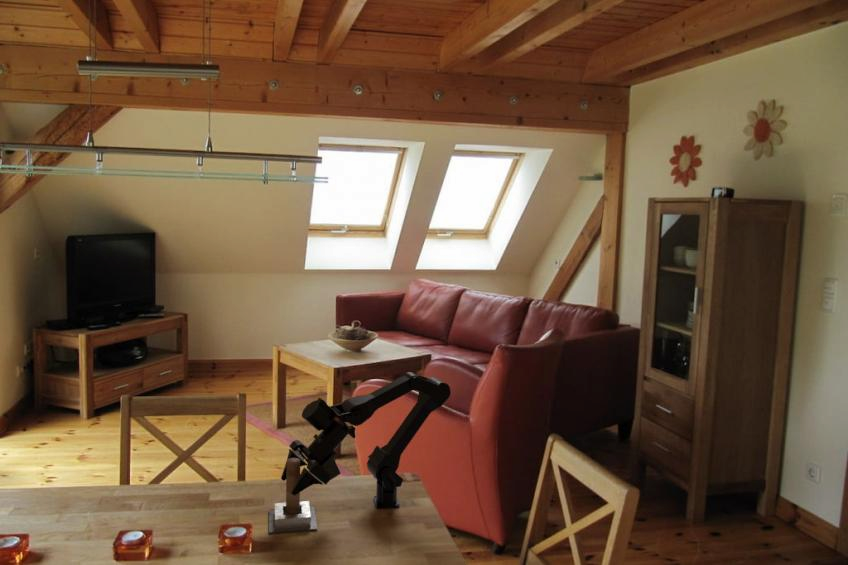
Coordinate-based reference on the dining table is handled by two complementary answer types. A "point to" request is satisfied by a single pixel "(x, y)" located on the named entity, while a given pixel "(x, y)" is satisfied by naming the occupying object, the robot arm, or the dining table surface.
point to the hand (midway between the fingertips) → (287, 486)
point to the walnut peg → (292, 486)
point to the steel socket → (292, 519)
